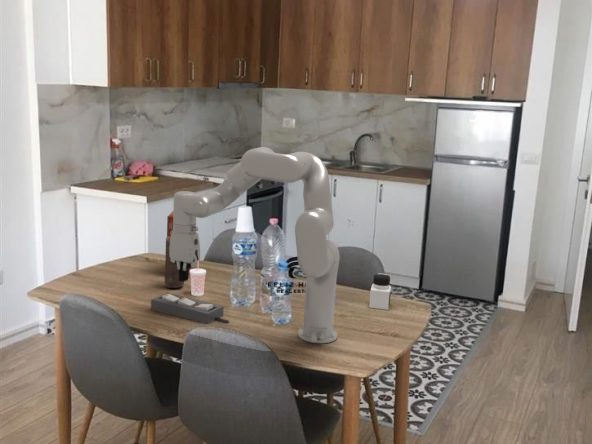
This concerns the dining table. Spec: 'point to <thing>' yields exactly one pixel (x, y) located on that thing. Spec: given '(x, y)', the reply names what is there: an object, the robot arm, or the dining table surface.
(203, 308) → the rocker near
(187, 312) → the power strip
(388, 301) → the medicine bottle
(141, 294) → the dining table surface
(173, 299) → the rocker far
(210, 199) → the robot arm
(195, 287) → the beverage cup
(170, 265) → the candle
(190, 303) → the rocker middle
